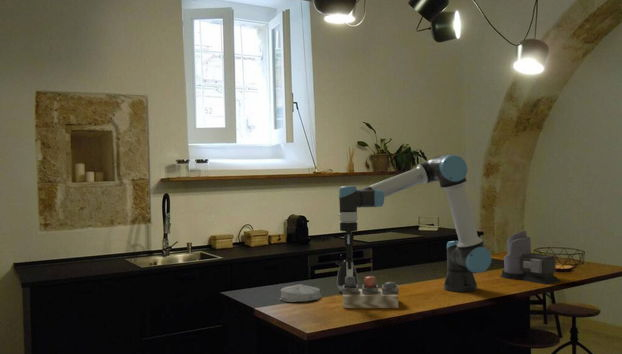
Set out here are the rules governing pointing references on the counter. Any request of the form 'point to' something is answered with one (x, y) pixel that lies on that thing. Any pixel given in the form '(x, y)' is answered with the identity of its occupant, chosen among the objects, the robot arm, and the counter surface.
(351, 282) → the cap
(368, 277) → the middle cap
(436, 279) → the counter surface
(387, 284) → the cap
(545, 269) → the juicer
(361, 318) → the counter surface
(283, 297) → the food container
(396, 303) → the console
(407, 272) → the counter surface
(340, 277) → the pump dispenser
